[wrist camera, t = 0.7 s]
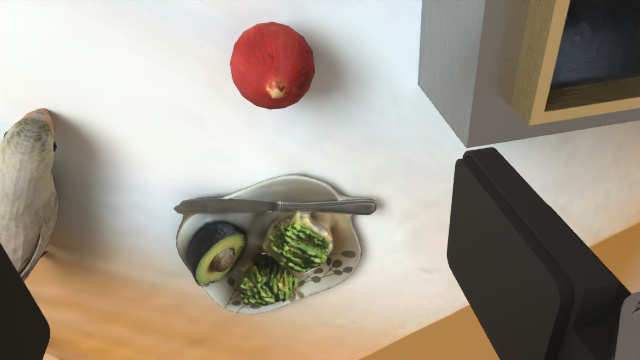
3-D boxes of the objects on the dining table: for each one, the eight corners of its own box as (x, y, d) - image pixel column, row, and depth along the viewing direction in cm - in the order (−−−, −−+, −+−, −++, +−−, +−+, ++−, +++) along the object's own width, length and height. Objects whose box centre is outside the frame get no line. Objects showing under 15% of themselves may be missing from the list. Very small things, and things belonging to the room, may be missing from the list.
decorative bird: (83, 114, 38) (59, 170, 32) (51, 257, 46) (26, 323, 40) (5, 92, 36) (-37, 147, 30) (-16, 246, 44) (-52, 313, 38)
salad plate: (350, 127, 43) (363, 156, 39) (392, 256, 54) (405, 288, 50) (147, 202, 44) (141, 236, 40) (229, 314, 55) (230, 349, 51)
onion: (316, 20, 36) (337, 63, 30) (293, 89, 39) (308, 141, 33) (239, -2, 35) (244, 39, 28) (221, 72, 38) (223, 124, 31)
